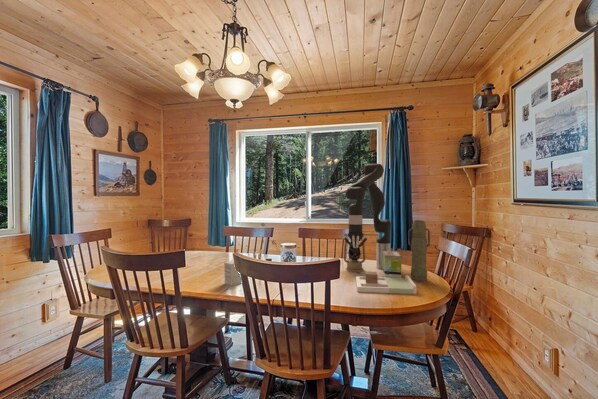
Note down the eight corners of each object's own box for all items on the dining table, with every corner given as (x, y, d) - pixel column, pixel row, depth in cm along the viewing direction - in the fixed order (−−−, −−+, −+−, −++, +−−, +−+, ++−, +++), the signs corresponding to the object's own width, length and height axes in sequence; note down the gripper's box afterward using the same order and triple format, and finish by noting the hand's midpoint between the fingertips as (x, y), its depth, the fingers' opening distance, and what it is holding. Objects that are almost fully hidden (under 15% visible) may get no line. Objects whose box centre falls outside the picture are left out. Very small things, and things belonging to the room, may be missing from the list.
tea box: (401, 280, 174) (401, 255, 173) (384, 280, 176) (384, 255, 175) (398, 274, 188) (398, 250, 188) (382, 273, 190) (382, 250, 190)
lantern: (344, 271, 195) (344, 226, 194) (343, 267, 207) (342, 224, 206) (366, 272, 194) (366, 226, 193) (364, 267, 206) (364, 224, 205)
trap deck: (355, 280, 175) (355, 273, 174) (408, 282, 170) (408, 275, 170) (357, 291, 155) (357, 283, 155) (416, 294, 150) (416, 286, 150)
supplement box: (235, 281, 176) (235, 259, 175) (242, 283, 170) (242, 261, 170) (224, 283, 170) (223, 261, 170) (231, 286, 165) (230, 263, 165)
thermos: (406, 277, 181) (406, 220, 181) (427, 277, 179) (427, 220, 179) (410, 281, 172) (410, 221, 172) (431, 282, 170) (431, 221, 170)
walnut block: (365, 280, 167) (365, 271, 167) (376, 280, 166) (376, 271, 166) (366, 283, 161) (366, 274, 161) (377, 283, 160) (377, 274, 160)
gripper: (367, 222, 167) (367, 253, 167) (343, 222, 169) (343, 252, 169) (368, 223, 159) (368, 256, 160) (343, 223, 162) (343, 255, 162)
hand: (355, 254), depth 164 cm, fingers closed
